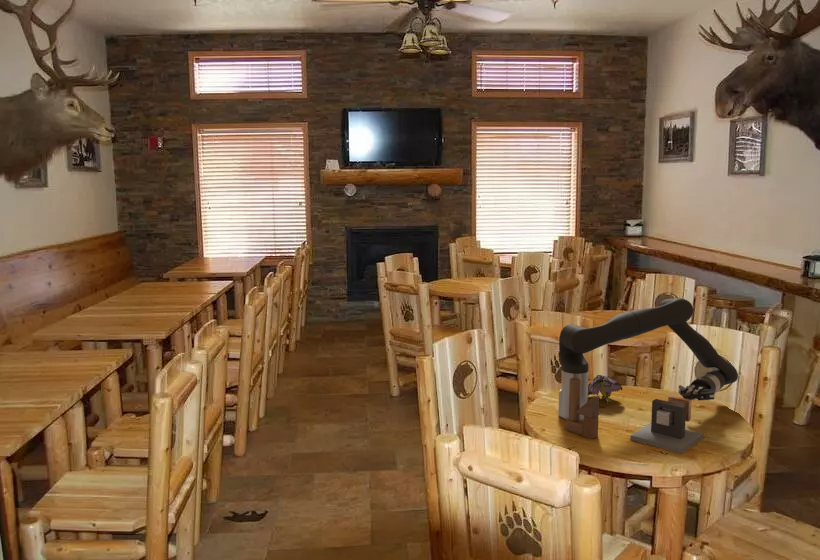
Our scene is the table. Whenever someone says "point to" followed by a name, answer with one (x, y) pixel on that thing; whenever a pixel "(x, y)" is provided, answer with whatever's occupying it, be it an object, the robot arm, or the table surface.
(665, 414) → the sliding block
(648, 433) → the base plate
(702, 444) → the table surface
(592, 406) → the wooden block
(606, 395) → the decorative flower
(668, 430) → the rubber collar
